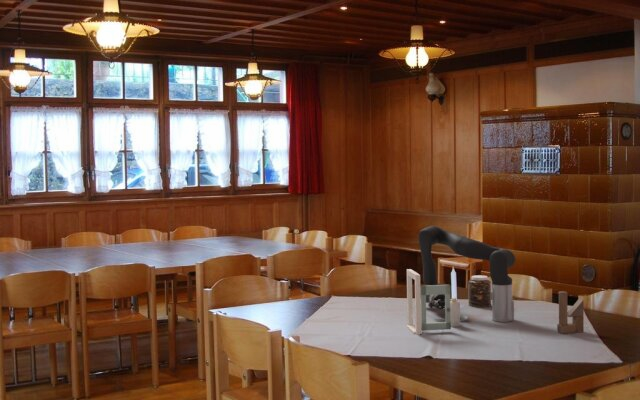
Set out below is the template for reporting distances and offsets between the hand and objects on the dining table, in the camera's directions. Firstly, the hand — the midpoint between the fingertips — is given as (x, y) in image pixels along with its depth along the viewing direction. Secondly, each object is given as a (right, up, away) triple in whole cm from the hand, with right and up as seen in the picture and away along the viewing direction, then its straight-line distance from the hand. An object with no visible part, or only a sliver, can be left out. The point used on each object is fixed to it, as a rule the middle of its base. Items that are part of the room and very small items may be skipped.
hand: (447, 306), depth 371 cm
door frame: (-18, -8, -18) cm, 26 cm away
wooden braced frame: (+49, -7, -30) cm, 58 cm away
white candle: (+1, -7, -11) cm, 13 cm away
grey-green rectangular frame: (-9, -7, -24) cm, 26 cm away
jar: (+22, -4, +35) cm, 42 cm away
